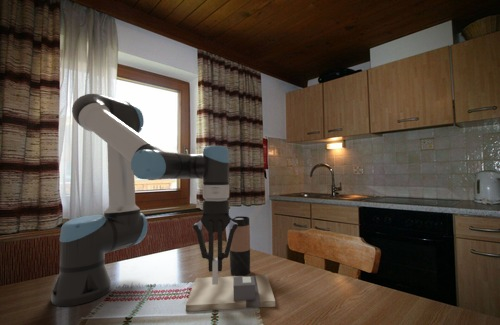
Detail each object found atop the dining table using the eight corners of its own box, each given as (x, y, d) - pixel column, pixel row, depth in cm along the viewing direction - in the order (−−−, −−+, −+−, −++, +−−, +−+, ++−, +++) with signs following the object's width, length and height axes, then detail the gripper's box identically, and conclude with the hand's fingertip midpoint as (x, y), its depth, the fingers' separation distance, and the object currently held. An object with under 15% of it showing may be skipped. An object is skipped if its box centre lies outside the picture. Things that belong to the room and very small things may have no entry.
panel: (185, 311, 66) (185, 305, 66) (196, 282, 84) (196, 277, 84) (275, 306, 68) (275, 300, 68) (266, 279, 86) (266, 274, 86)
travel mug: (250, 276, 88) (249, 219, 89) (228, 276, 88) (228, 219, 90) (250, 268, 96) (249, 216, 97) (230, 269, 96) (230, 216, 97)
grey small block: (233, 300, 68) (233, 284, 68) (233, 290, 74) (233, 276, 74) (255, 299, 69) (255, 283, 69) (253, 289, 75) (253, 275, 75)
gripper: (191, 201, 68) (189, 289, 67) (238, 200, 69) (238, 287, 68) (195, 198, 76) (194, 277, 75) (238, 198, 77) (238, 276, 76)
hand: (215, 282), depth 71 cm, fingers closed
